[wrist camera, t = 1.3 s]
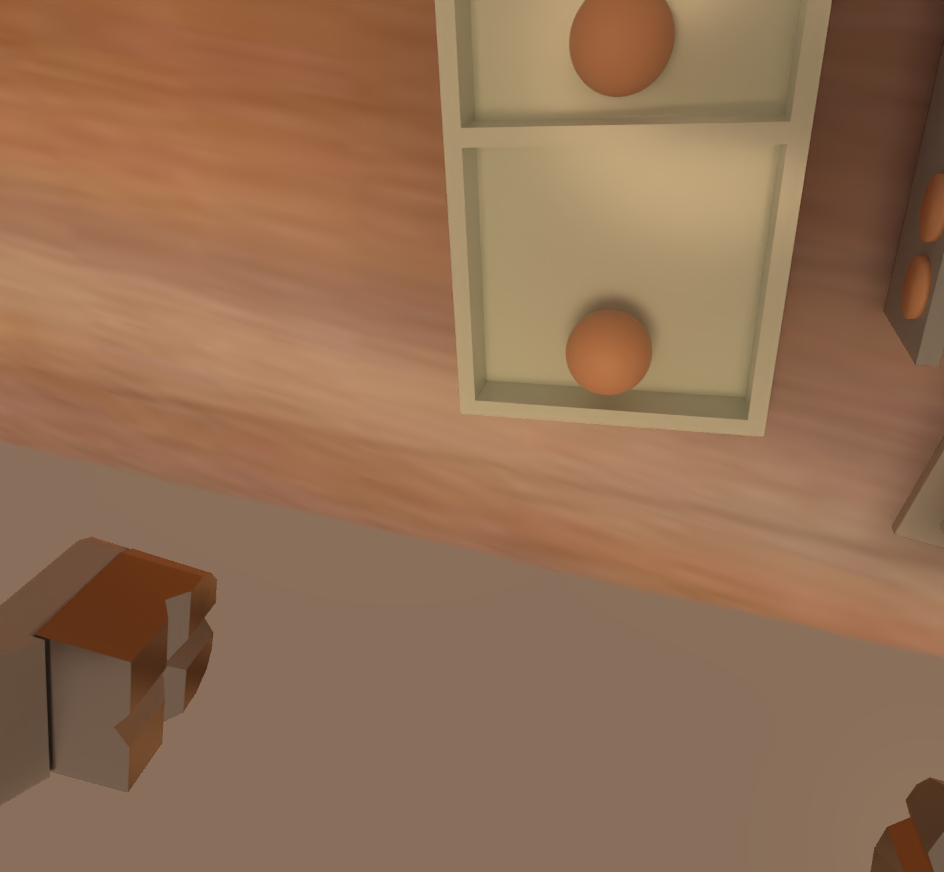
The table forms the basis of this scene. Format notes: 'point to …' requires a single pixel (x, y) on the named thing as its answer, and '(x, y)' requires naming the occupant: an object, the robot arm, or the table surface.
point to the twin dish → (625, 206)
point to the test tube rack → (925, 505)
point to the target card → (923, 246)
